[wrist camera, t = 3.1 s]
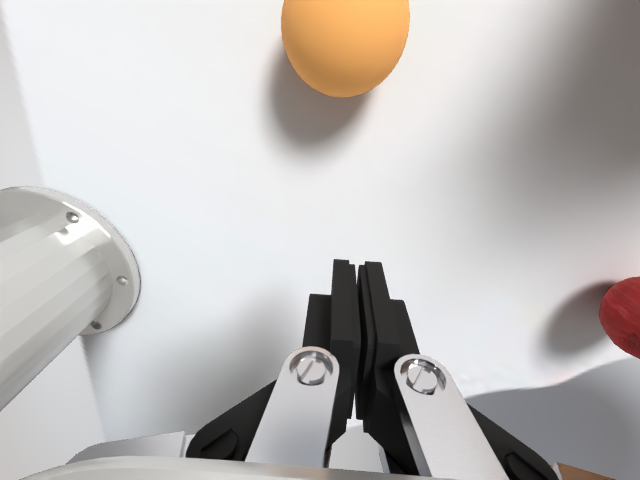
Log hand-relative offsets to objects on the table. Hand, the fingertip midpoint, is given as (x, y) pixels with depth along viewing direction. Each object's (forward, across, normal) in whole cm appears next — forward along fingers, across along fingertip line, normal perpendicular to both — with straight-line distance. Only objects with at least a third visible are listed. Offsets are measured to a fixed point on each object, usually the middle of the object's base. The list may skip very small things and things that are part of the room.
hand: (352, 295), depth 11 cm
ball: (+9, +1, -9) cm, 13 cm away
